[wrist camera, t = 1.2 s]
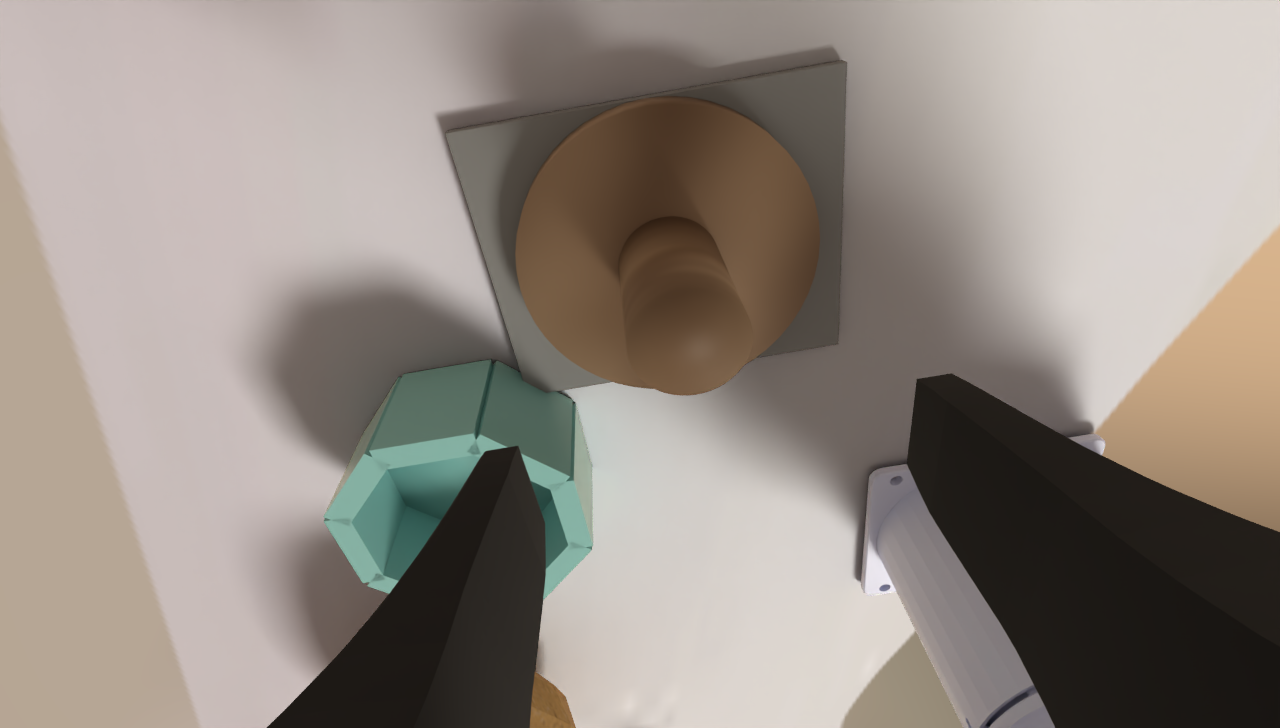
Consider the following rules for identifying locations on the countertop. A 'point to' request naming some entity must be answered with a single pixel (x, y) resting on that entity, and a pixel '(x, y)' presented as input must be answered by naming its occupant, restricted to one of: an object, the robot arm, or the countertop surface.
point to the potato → (549, 706)
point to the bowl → (459, 467)
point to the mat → (516, 148)
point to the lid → (667, 244)
